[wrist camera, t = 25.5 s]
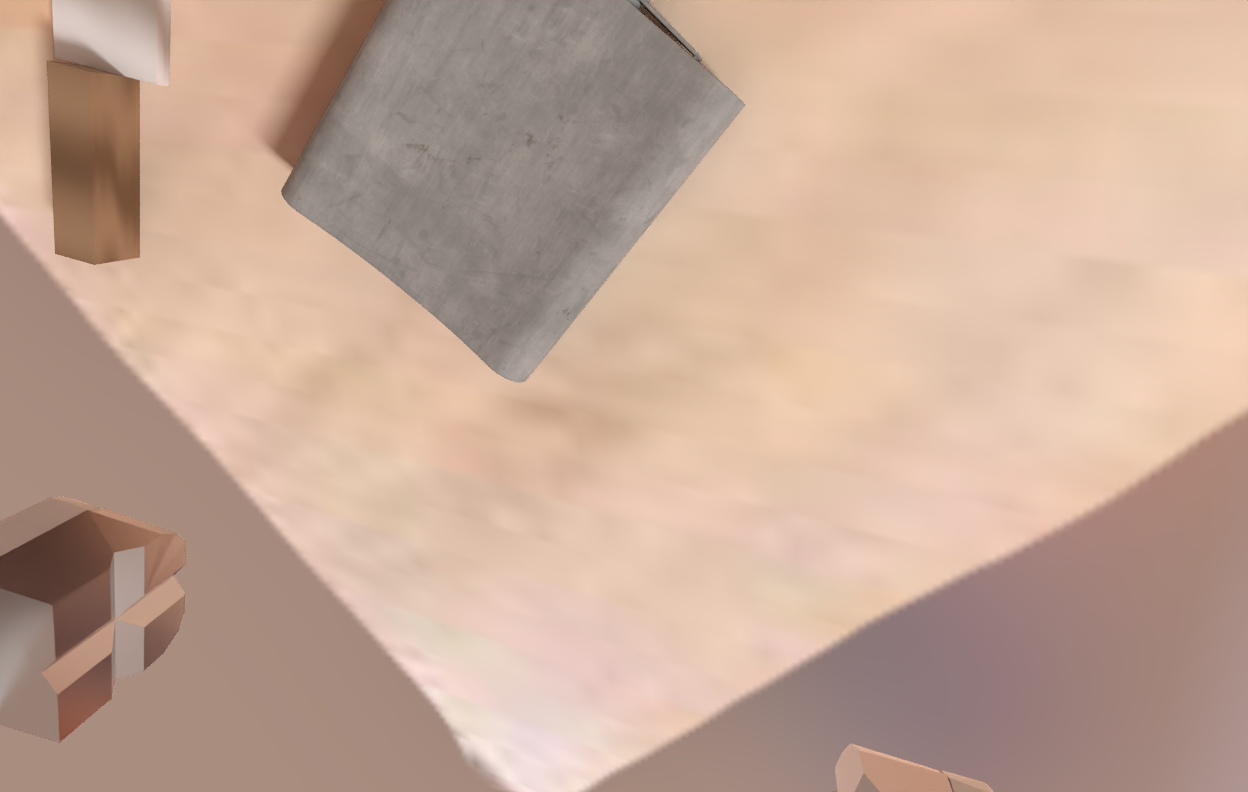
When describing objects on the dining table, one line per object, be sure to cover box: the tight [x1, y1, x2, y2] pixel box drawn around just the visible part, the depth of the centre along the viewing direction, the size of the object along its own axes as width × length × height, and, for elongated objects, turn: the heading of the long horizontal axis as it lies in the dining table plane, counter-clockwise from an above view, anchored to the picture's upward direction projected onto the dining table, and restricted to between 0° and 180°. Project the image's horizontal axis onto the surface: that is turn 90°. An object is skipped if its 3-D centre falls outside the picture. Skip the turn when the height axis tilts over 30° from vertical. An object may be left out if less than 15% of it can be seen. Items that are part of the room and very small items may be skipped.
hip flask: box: [281, 0, 745, 382], centre depth 35 cm, size 16×4×20 cm
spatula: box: [47, 0, 171, 265], centre depth 38 cm, size 18×6×3 cm, turn 166°
